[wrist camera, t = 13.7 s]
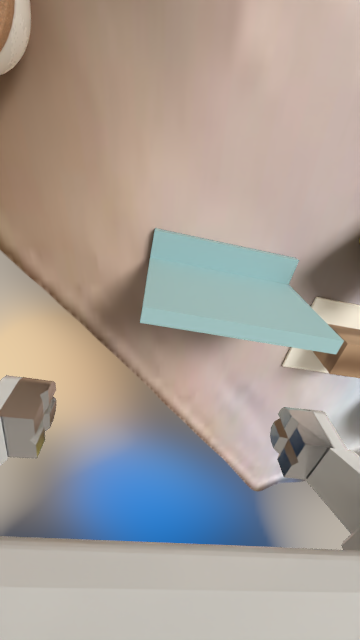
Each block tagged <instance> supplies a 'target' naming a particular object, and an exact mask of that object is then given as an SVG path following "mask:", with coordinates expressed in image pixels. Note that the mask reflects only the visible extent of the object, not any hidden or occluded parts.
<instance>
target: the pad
mask: <svg viewBox="0 0 360 640" xmlns="http://www.w3.org/2000/svg"><path fill="white" fill-rule="evenodd" d="M311 308H312V309H313V310H314V311H315V312H316V313H317V314H318V315H319V316H320V317H321V318H322V319H323V320H324V321H325V322H326V323H327V324H332V325H337V326H343V327H348V328H354V329H359V330H360V305H357V304H352V303H346V302H341V301H336V300H331V299H326V298H320V297H315V299H314V301H313V303H312V305H311ZM282 366H283V367H290V368H297V369H303V370H310V371H317V372H323V373H329V372H328V371H327V370H326V368H325V367H324V366H323V364H322V363H321V362H320V360H319V359H318V358H317V356H316V355H315V354H314V353H313V351H312V350H305V349H299V348H293V347H291V348H290V350H289V352H288V354H287V356H286V358H285V360H284V362H283V364H282Z"/></svg>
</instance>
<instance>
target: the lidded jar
mask: <svg viewBox="0 0 360 640" xmlns="http://www.w3.org/2000/svg"><path fill="white" fill-rule="evenodd" d="M30 31H31V7H30V0H0V75H2V74H4V73H6V72H8V71H9V70H11V69H12V68H13V67H14V66H15V65H16V64H17V63H18V62H19V61H20V59H21V58H22V56H23V54H24V53H25V50H26V48H27V45H28V42H29V37H30Z"/></svg>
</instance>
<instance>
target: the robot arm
mask: <svg viewBox="0 0 360 640" xmlns="http://www.w3.org/2000/svg"><path fill="white" fill-rule="evenodd" d="M55 391H56V385H55V382H53V381H46V380H39V379H32V378H24V377H23V378H22V377H14V376H7V375H6V376H5V377H3V378H2V379H1V381H0V465H1V464H2V463H4V462H5V461H6V460H7V459H8V457H19V458H37V457H38V455H39V453H40V450H41V448H42V446H43V443H44V441H45V431H46V430H48V429H49V428H50V426H51V424H52V422H53V419H54V415H55V411H56V399H55V398H54V397H53V395H54V393H55ZM278 415H279V417H280V419H278V420H276V421H275V422H274V423H273V425H272V427H271V433H270V437H271V443H272V446H273V448H274V449H275V450H276V451H277V452H278V453H279V456H278V459H277V460H278V462H279V465H280V468H281V470H282V473H283V476H284V477H287V478H297V479H306V481H307V482H308V484H310V486H311V487H312V488H313V490H314V491H315V492H316V493H317V494H318V495H319V497H320V498H321V499H322V500H323V501H324V503H325V504H326V505H327V506H328V507H329V508H330V510H331V511H332V512H333V513H334V514H335V515H336V517H337V518H338V519H339V520H340V521H341V523H342V524H343V525H344V526H345V527H346V529H347V530H348V531H349V532H350V533H351V535H350V536H349V537H348V538H347V539H346V540H344V541H343V543H342V548H343V550H332V549H307V548H282V547H257V546H232V545H231V546H230V545H207V544H206V545H205V544H183V543H181V544H180V543H156V542H132V541H106V540H82V539H56V538H31V537H5V536H0V640H360V456H358V455H357V454H356V453H355V452H353V451H352V450H348V449H347V447H346V446H345V444H344V443H343V441H342V439H341V438H340V436H339V434H338V433H337V431H336V430H335V428H334V426H333V425H332V423H331V421H330V420H329V418H328V417H327V415H326V414H325V413H324V412H323V411H318V410H307V409H298V408H288V407H284V408H282V409H281V410H280V412H279V414H278Z"/></svg>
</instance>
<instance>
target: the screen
mask: <svg viewBox="0 0 360 640" xmlns="http://www.w3.org/2000/svg"><path fill="white" fill-rule="evenodd" d="M298 262H299V260H298V259H296V258H294V257H289V256H284V255H279V254H275V253H270V252H265V251H261V250H256V249H251V248H246V247H242V246H237V245H232V244H228V243H223V242H218V241H213V240H209V239H204V238H199V237H195V236H190V235H185V234H180V233H176V232H171V231H166V230H162V229H157V228H155V231H154V237H153V243H152V249H151V255H150V261H149V267H148V274H147V280H146V286H145V293H144V299H143V306H142V312H141V319H140V323H145V324H151V325H157V326H163V327H169V328H176V329H182V330H188V331H194V332H200V333H207V334H213V335H219V336H225V337H231V338H237V339H244V340H250V341H256V342H262V343H268V344H275V345H281V346H287V347H293V348H299V349H305V350H312V351H318V352H324V353H330V354H337V352H338V351H339V349H340V347H341V346H342V344H343V342H344V340H343V339H342V338H341V337H340V336H339V335H338V334H337V333H336V332H335V331H334V330H333V329H332V328H331V327H330V326H329V325H328V324H327V323H326V322H325V321H324V320H323V319H322V318H321V317H320V316H319V315H318V314H317V313H316V312H315V311H314V310H313V309H312V308H311V307H310V306H309V305H308V304H307V303H306V302H305V301H304V300H303V299H302V298H301V297H300V296H299V295H298V294H297V293H296V292H295V290H294V289H293V288H292V287H291V286H290V285H289V282H290V280H291V278H292V275H293V273H294V271H295V269H296V266H297V264H298Z"/></svg>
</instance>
